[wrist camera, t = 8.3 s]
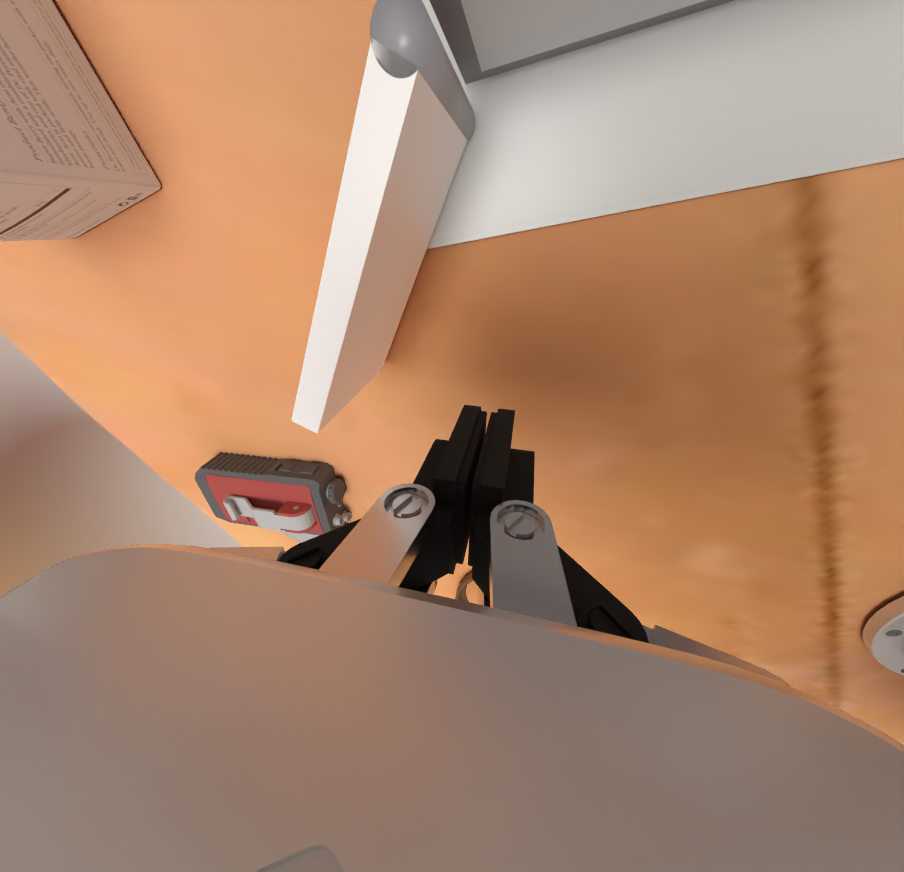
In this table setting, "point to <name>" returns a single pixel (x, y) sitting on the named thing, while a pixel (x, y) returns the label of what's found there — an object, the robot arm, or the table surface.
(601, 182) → the camera box
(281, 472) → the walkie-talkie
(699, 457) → the table surface
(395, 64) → the side door
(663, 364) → the table surface
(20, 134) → the supplement box
